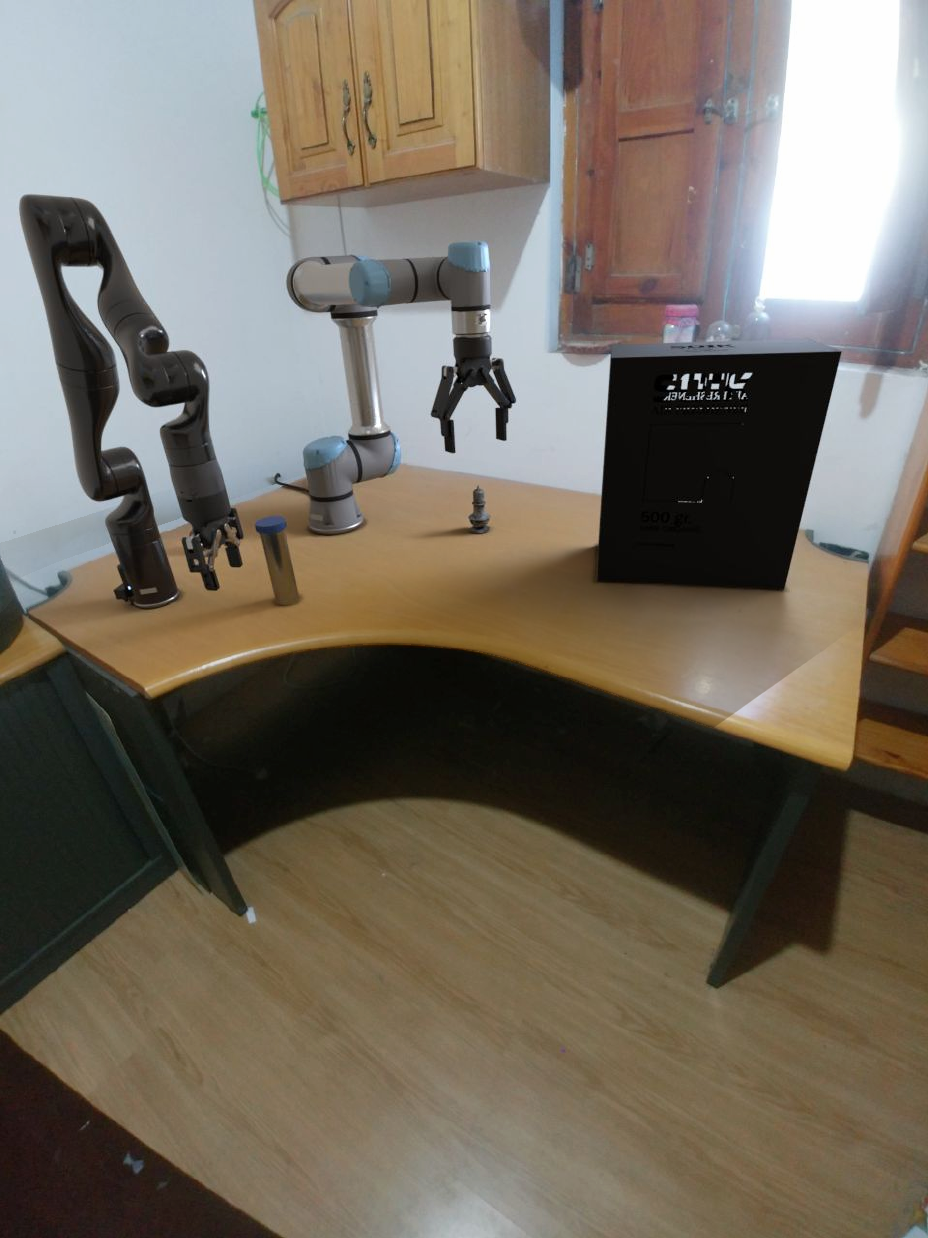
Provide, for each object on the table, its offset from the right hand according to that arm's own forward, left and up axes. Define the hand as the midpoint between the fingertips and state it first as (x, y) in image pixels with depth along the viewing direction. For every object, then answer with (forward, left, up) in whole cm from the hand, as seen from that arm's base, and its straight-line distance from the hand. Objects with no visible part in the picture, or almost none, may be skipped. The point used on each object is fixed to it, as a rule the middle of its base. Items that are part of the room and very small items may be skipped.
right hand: (476, 445), depth 127 cm
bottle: (-15, -42, -28) cm, 53 cm away
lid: (-15, -42, -10) cm, 46 cm away
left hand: (+1, -56, -12) cm, 58 cm away
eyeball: (-58, -47, -28) cm, 80 cm away
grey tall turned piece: (-18, +14, -28) cm, 36 cm away
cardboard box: (+31, +34, -28) cm, 54 cm away
